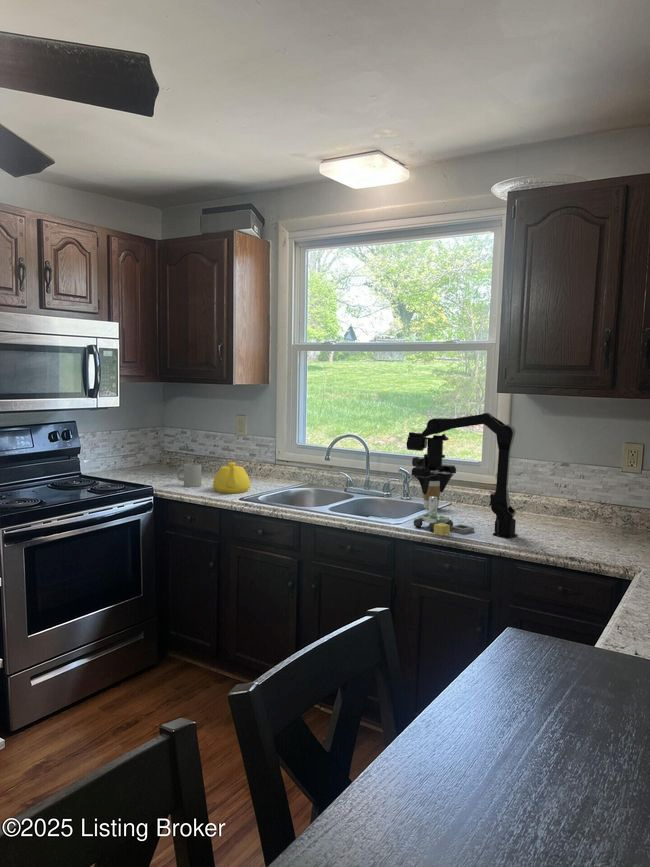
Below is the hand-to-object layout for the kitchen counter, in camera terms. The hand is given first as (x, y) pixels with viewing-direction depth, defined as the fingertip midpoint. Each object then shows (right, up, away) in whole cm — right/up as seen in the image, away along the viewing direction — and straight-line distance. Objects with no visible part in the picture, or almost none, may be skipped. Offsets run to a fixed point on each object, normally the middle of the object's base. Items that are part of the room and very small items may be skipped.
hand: (433, 493), depth 236 cm
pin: (0, -9, +1) cm, 10 cm away
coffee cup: (+5, -10, +37) cm, 38 cm away
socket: (+10, -14, -4) cm, 17 cm away
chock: (+2, -14, -9) cm, 17 cm away
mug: (-108, -4, +78) cm, 133 cm away
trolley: (0, -13, 0) cm, 13 cm away
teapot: (-85, -6, +67) cm, 108 cm away
